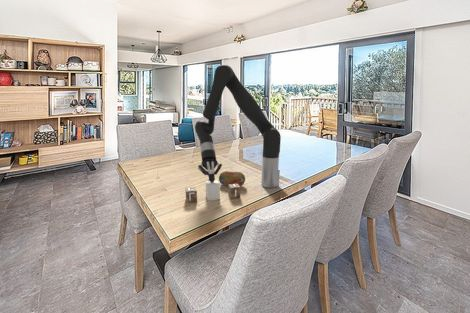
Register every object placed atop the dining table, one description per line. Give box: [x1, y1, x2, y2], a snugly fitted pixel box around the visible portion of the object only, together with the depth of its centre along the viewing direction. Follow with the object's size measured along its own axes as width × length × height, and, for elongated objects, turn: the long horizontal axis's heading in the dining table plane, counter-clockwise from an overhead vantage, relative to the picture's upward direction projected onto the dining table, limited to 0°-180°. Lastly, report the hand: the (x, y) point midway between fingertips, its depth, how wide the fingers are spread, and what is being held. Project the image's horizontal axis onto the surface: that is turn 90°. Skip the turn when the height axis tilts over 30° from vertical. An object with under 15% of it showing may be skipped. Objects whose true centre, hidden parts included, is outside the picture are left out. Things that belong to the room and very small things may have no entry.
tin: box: [218, 170, 246, 187], centre depth 153 cm, size 15×3×8 cm, turn 76°
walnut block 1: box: [227, 184, 241, 200], centre depth 138 cm, size 5×5×6 cm
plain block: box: [205, 179, 221, 201], centre depth 136 cm, size 6×6×8 cm
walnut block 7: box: [185, 186, 198, 204], centre depth 132 cm, size 5×5×6 cm
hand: (212, 181), depth 135 cm, fingers closed
